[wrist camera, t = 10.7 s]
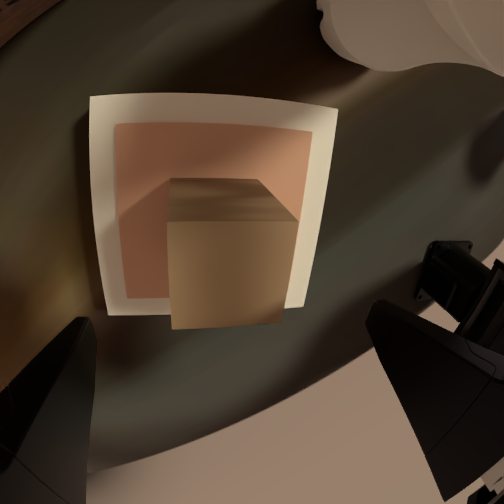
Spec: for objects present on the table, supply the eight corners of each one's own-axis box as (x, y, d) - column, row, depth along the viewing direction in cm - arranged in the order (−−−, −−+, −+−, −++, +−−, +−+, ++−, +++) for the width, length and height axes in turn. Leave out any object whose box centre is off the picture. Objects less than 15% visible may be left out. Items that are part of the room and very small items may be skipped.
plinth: (317, 106, 18) (340, 109, 15) (290, 284, 24) (304, 309, 21) (102, 97, 15) (88, 96, 12) (114, 290, 20) (107, 318, 18)
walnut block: (257, 179, 16) (298, 221, 11) (250, 255, 18) (281, 322, 13) (170, 177, 15) (166, 222, 10) (170, 257, 17) (172, 329, 12)
